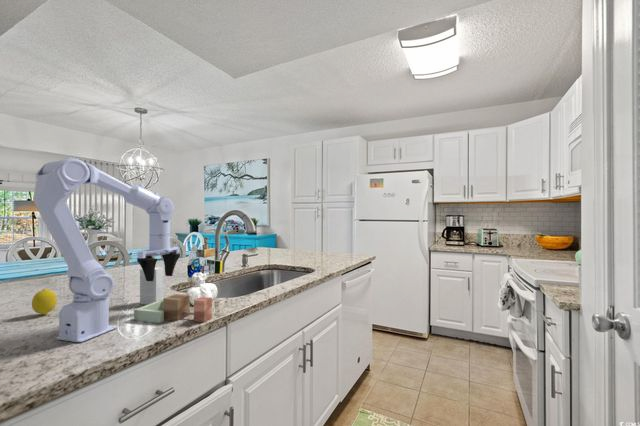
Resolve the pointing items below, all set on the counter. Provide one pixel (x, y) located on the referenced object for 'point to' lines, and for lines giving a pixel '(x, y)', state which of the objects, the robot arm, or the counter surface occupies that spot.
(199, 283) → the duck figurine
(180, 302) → the tethered block
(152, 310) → the green l-shaped block
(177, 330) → the counter surface
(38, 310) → the lemon
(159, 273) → the skincare box
